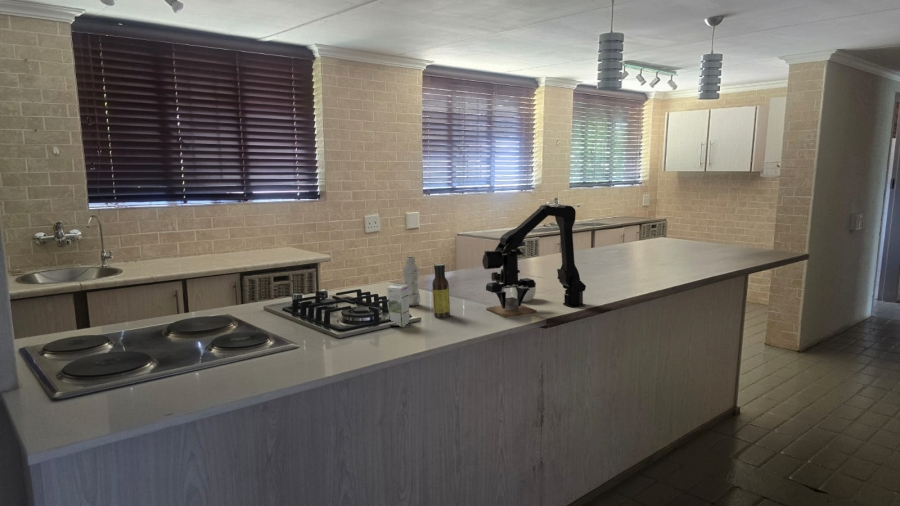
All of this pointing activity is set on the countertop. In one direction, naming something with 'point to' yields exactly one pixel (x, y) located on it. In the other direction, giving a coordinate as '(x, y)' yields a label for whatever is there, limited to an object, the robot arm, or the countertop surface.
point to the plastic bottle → (412, 280)
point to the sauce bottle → (440, 293)
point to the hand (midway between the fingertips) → (511, 307)
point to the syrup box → (398, 304)
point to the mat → (509, 317)
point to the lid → (511, 309)
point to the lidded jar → (527, 297)
